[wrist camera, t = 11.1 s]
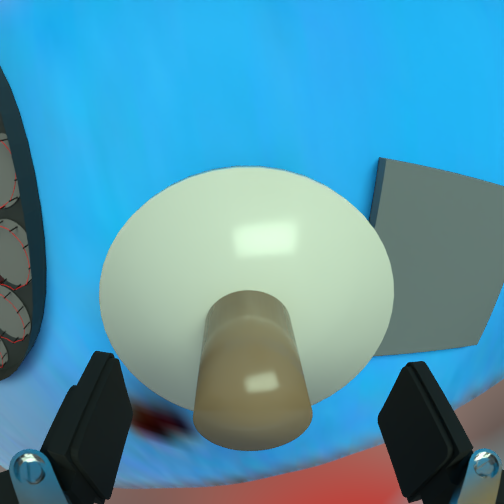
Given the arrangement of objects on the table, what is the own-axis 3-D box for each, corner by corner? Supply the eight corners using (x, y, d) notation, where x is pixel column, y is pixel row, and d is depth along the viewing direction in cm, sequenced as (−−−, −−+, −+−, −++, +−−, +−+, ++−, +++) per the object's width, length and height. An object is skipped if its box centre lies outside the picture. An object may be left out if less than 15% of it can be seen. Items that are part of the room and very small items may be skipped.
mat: (520, 191, 18) (528, 194, 17) (471, 338, 24) (477, 344, 23) (379, 157, 17) (386, 159, 16) (338, 349, 23) (341, 357, 22)
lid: (414, 184, 12) (508, 232, 7) (349, 405, 17) (374, 484, 12) (93, 162, 11) (-1, 200, 6) (127, 398, 16) (104, 480, 11)
